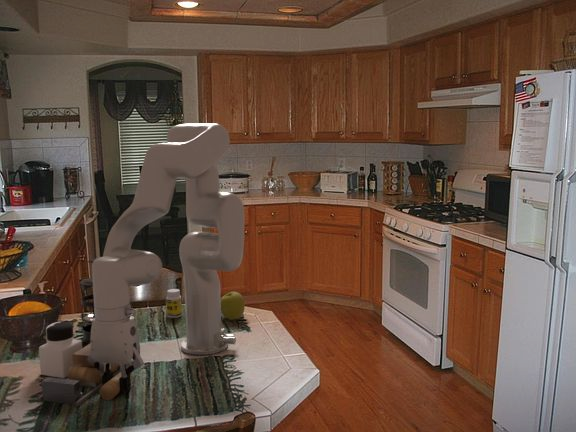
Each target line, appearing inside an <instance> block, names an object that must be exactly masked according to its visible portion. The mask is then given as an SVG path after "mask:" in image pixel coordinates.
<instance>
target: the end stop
mask: <svg viewBox="0 0 576 432" xmlns="http://www.w3.org/2000/svg"><path fill="white" fill-rule="evenodd" d="M41 388H42V391H41V392H42V394H43V400H42V401H43V402H52V403H58V404H59V403H61V404H67V405H74V406H75V402H76V401H78V400H79V399H80V398H81V394H80V392H81V386H80V381H77V380H68V379H66V378H59V377H51V376H47V377H46V378H45V379H43V380H41Z"/></svg>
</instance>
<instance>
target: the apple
mask: <svg viewBox="0 0 576 432" xmlns="http://www.w3.org/2000/svg"><path fill="white" fill-rule="evenodd" d="M245 306H246V305H245V300H244V297H243V295H242V294H241V293H239V292H237V291H234V289H232V290H231V291H230V292H228V293H226V294H224V295H223V296H222V297H221V314H222V315H223V317H225V319H227V320H230V321H233V320H241V318H242V316H243V315H244V312H245Z"/></svg>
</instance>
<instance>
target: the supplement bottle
mask: <svg viewBox="0 0 576 432" xmlns="http://www.w3.org/2000/svg"><path fill="white" fill-rule="evenodd" d="M166 292H167V293H166V295H167V296H166V297H165V300H166V301H165V304H166V316H167V318H170V319H175V318H179V317H182V314H183V313H182V312H183V311H182V310H183V309H182V296H181V290H180V289H179V288H171V289H167V290H166Z"/></svg>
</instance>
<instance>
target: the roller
mask: <svg viewBox="0 0 576 432" xmlns="http://www.w3.org/2000/svg"><path fill="white" fill-rule="evenodd" d="M120 377H122V376H121V372H120V373H119V374H117V375H116V376H115V377H113V378H112V379H111V380H109V381H108V382H107V383H105V384H104V385H103V386H102V387H101V388H100V390H99V395H100V397H101V398H102V399H103V400H105V401H111V400H113V399H114V398H115V397H116V396H117V395H118V394H120V384H119V378H120ZM130 380H131V383H133V375H132V373H131V374H130Z"/></svg>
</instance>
